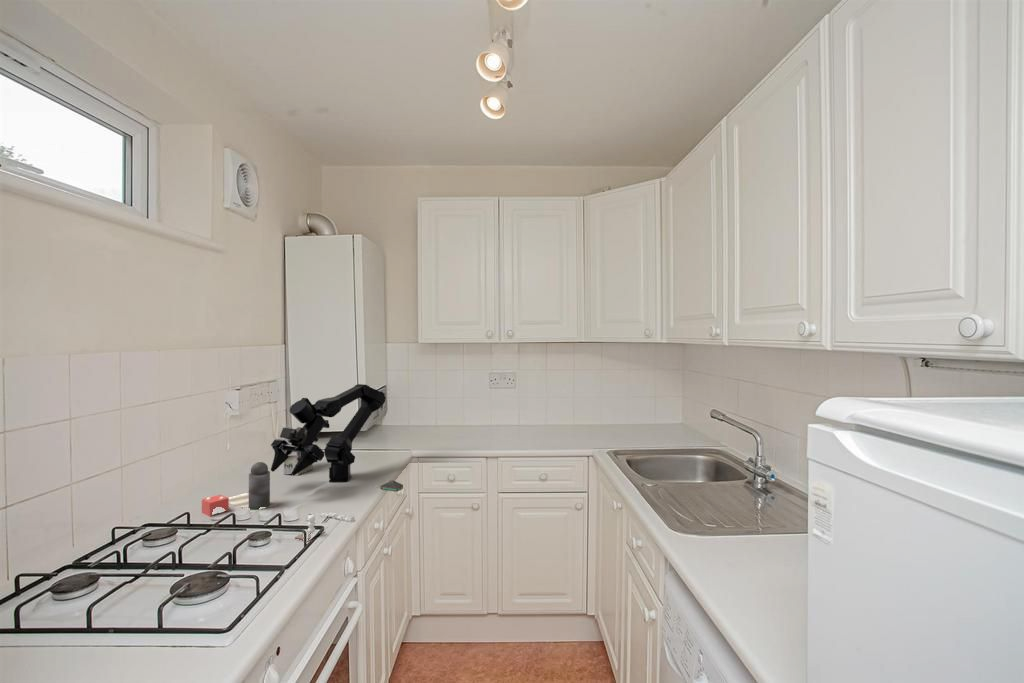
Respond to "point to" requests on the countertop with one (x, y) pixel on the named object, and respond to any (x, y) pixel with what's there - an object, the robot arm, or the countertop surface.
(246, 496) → the game track
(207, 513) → the red arch block
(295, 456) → the coffee box
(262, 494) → the pawn
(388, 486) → the game pieces
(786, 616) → the countertop surface
